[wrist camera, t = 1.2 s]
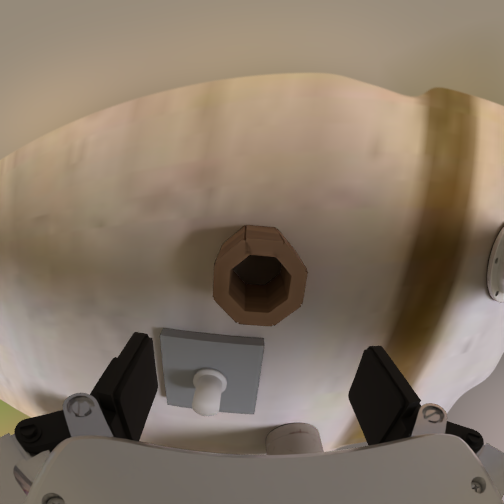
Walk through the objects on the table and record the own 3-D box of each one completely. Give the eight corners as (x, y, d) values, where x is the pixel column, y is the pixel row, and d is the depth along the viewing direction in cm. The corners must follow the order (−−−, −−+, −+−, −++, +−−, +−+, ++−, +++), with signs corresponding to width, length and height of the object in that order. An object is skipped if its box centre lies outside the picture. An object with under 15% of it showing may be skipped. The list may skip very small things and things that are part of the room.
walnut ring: (298, 229, 26) (311, 244, 20) (288, 298, 28) (298, 327, 22) (223, 222, 26) (216, 235, 20) (219, 292, 27) (211, 321, 22)
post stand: (263, 338, 29) (266, 373, 23) (254, 406, 32) (254, 440, 26) (163, 328, 28) (146, 359, 23) (170, 396, 31) (159, 429, 25)
